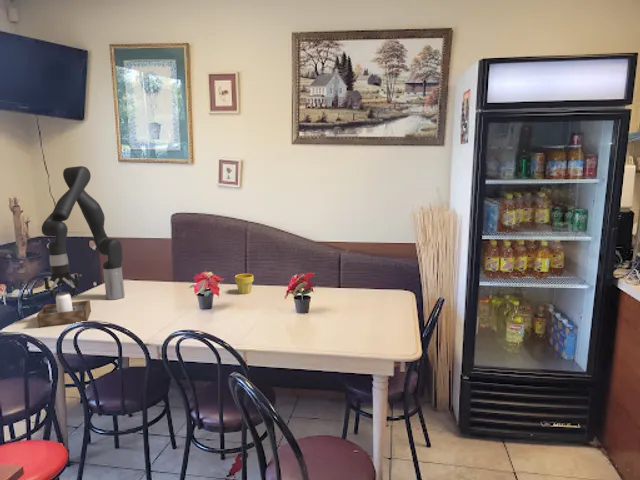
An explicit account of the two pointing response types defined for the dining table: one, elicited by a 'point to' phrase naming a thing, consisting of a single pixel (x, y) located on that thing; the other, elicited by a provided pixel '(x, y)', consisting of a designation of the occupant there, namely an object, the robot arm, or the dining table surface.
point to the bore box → (63, 314)
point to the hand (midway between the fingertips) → (64, 296)
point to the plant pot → (244, 283)
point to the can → (63, 302)
